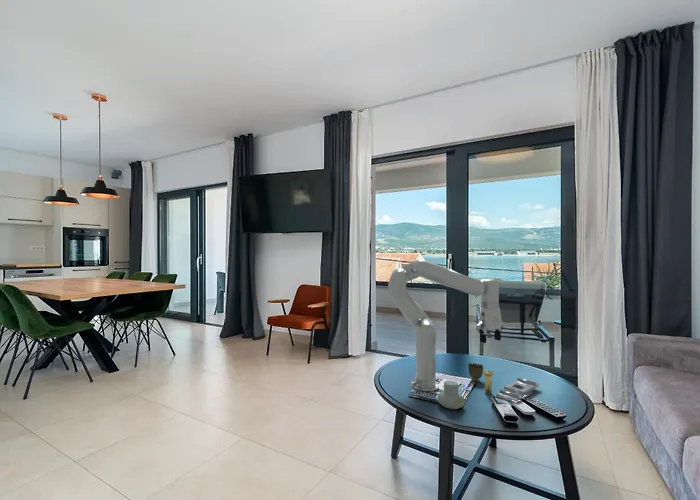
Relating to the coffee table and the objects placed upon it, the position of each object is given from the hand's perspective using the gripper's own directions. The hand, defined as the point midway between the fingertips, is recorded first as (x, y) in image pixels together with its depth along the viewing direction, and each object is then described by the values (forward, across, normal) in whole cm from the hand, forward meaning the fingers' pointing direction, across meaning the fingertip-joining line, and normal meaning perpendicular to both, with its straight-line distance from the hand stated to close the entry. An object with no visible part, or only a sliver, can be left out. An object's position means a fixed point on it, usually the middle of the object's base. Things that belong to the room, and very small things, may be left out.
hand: (490, 341), depth 166 cm
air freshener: (+23, -29, -5) cm, 38 cm away
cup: (+24, +4, +13) cm, 27 cm away
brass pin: (+24, -3, -1) cm, 24 cm away
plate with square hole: (+24, +9, -8) cm, 27 cm away
